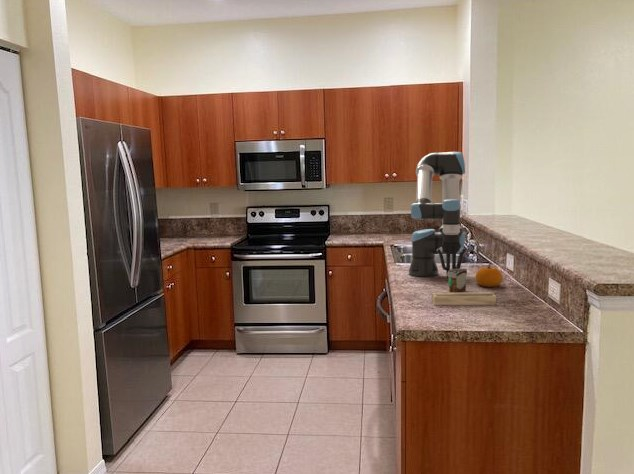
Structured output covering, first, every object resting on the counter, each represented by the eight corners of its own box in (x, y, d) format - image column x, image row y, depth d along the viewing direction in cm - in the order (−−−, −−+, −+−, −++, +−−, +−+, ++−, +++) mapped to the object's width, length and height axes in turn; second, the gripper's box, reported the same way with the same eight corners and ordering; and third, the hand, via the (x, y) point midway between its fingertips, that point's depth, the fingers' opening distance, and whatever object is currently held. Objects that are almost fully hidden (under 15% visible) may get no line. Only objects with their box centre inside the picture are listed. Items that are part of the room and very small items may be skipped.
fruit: (504, 284, 224) (505, 263, 222) (498, 289, 214) (499, 267, 213) (479, 281, 230) (479, 261, 229) (472, 286, 220) (472, 265, 219)
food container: (453, 289, 217) (454, 267, 216) (467, 290, 213) (467, 268, 212) (442, 294, 208) (442, 272, 207) (455, 296, 204) (455, 273, 203)
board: (431, 301, 198) (431, 291, 197) (491, 300, 196) (491, 291, 195) (434, 304, 192) (434, 295, 191) (495, 304, 190) (495, 294, 189)
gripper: (437, 234, 213) (437, 286, 216) (467, 234, 212) (467, 286, 215) (435, 233, 220) (435, 283, 223) (464, 232, 219) (463, 283, 222)
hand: (450, 284), depth 219 cm, fingers closed
